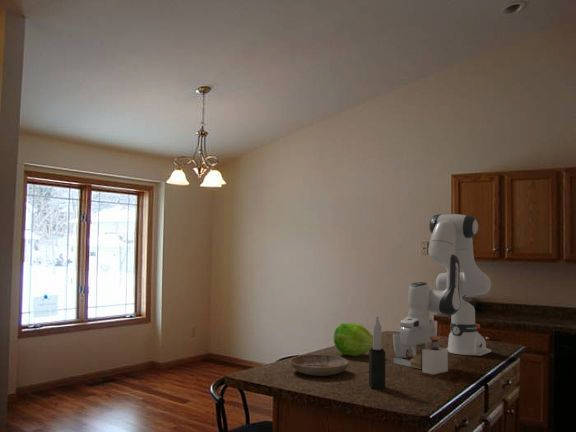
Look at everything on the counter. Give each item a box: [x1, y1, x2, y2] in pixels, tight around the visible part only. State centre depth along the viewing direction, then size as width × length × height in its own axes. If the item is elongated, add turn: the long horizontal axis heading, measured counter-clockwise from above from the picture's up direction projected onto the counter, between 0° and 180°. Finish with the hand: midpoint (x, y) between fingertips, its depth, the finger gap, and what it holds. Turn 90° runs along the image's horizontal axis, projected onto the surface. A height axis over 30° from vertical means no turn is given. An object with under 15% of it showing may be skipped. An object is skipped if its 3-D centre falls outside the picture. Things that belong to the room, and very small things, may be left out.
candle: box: [368, 316, 386, 390], centre depth 185 cm, size 5×5×25 cm
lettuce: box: [333, 322, 373, 357], centre depth 241 cm, size 17×20×15 cm
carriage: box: [409, 344, 425, 370], centre depth 216 cm, size 5×5×9 cm
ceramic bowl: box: [289, 354, 350, 377], centre depth 206 cm, size 23×24×5 cm
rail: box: [392, 357, 420, 370], centre depth 219 cm, size 2×18×2 cm, turn 38°
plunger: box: [430, 336, 441, 350], centre depth 211 cm, size 4×4×6 cm
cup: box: [392, 333, 411, 359], centre depth 240 cm, size 8×8×10 cm
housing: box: [421, 346, 449, 375], centre depth 210 cm, size 10×5×9 cm, turn 128°
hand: (418, 354), depth 216 cm, fingers closed on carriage, 4 cm apart
